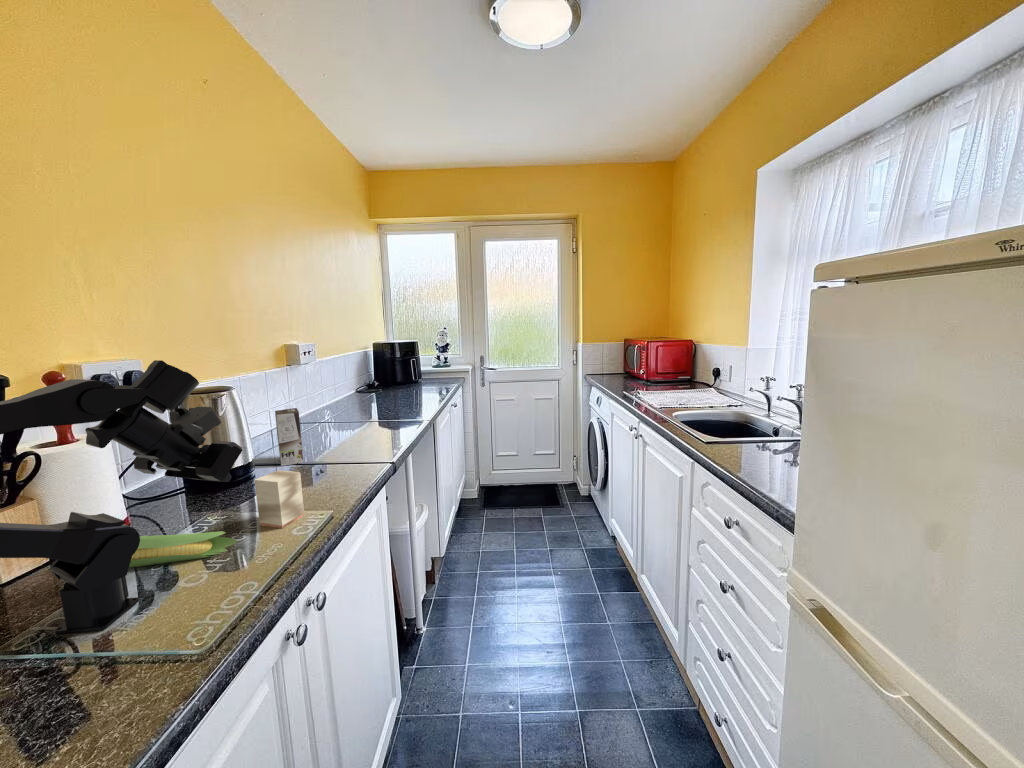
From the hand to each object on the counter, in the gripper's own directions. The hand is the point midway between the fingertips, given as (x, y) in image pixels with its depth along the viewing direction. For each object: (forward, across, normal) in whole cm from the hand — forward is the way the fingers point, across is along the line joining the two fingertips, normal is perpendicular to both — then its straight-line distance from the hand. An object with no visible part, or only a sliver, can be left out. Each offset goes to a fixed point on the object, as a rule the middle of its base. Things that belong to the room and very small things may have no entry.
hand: (224, 478), depth 77 cm
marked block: (+18, 0, +1) cm, 18 cm away
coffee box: (+43, +31, -23) cm, 58 cm away
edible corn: (+6, +7, +14) cm, 17 cm away
